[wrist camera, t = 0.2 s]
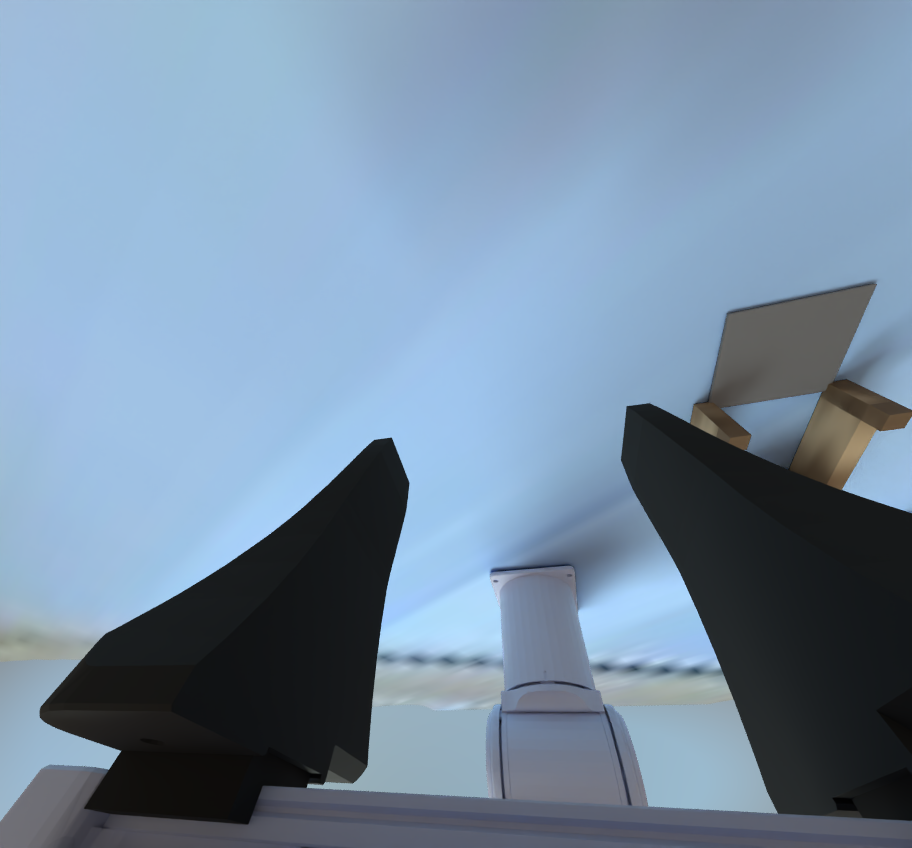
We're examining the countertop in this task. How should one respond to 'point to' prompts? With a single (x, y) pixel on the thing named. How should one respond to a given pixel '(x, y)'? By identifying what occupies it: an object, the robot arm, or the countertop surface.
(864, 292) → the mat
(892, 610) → the robot arm
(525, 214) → the countertop surface
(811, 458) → the chute
